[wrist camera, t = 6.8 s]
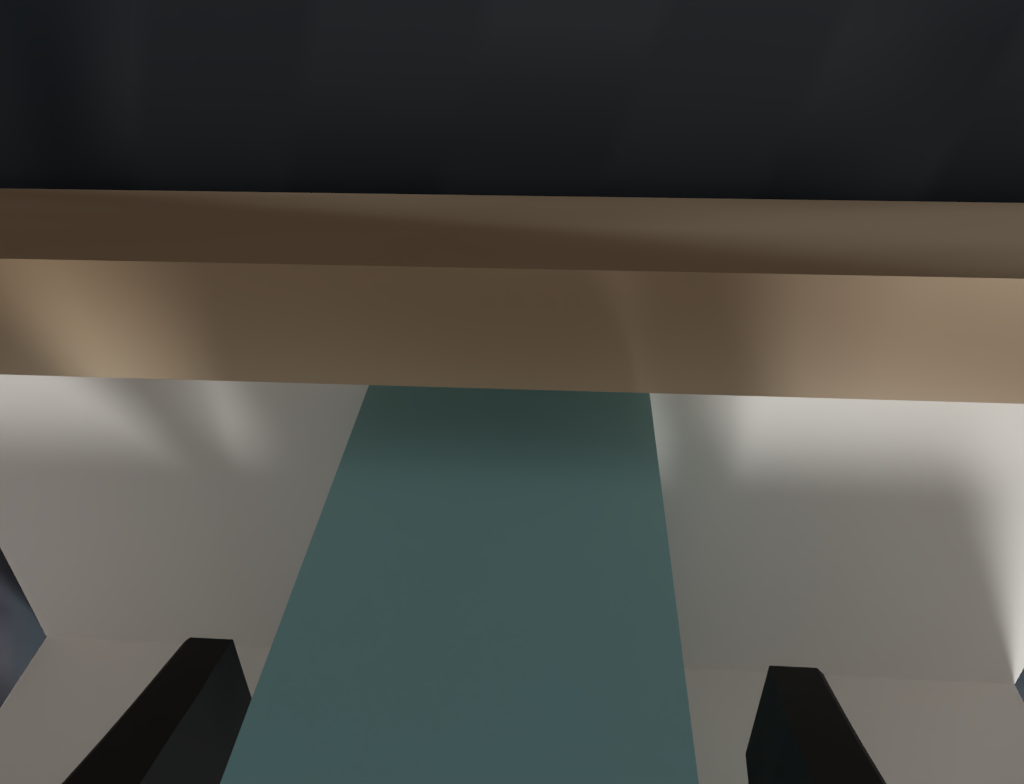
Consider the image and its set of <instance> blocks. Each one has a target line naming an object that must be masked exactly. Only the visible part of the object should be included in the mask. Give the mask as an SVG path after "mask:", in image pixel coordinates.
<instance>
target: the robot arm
mask: <svg viewBox="0 0 1024 784" xmlns="http://www.w3.org/2000/svg"><path fill="white" fill-rule="evenodd" d="M251 699H252V697H251V694H250V691H249V688H248V685H247V682H246V679H245V676H244V672H243V669H242V666H241V663H240V660H239V657H238V654H237V651H236V647H235V644H234V641H233V639H213V638H193V637H190V638H188V639H187V640H186V641H185V642H184V643H183V644H182V645H181V646H180V647H179V649H178V650H177V651H176V652H175V653H174V655H173V656H172V657H171V658H170V659H169V660H168V662H167V663H166V664H165V665H164V666H163V668H162V669H161V670H160V671H159V672H158V674H157V675H156V676H155V677H154V678H153V680H152V681H151V682H150V683H149V684H148V686H147V687H146V688H145V689H144V690H143V692H142V693H141V694H140V695H139V696H138V697H137V699H136V700H135V701H134V702H133V703H132V705H131V706H130V707H129V708H128V709H127V710H126V711H125V713H124V714H123V715H122V716H121V717H120V718H119V720H118V721H117V722H116V723H115V724H114V725H113V727H112V728H111V729H110V730H109V731H108V732H107V734H106V735H105V736H104V737H103V738H102V739H101V740H100V741H99V743H98V744H97V745H96V746H95V747H94V748H93V749H92V750H91V752H90V753H89V754H88V755H87V756H86V757H85V758H84V759H83V760H82V762H81V763H80V764H79V765H78V766H77V767H76V768H75V769H74V771H73V772H72V773H71V774H70V775H69V776H68V777H67V778H66V779H65V781H64V782H63V783H62V784H220V782H221V780H222V777H223V774H224V772H225V769H226V766H227V764H228V761H229V758H230V756H231V753H232V750H233V748H234V745H235V742H236V739H237V737H238V734H239V731H240V729H241V726H242V723H243V721H244V718H245V715H246V713H247V710H248V707H249V705H250V702H251ZM745 756H746V765H747V774H748V783H749V784H886V782H885V780H884V779H883V777H882V775H881V774H880V772H879V770H878V769H877V767H876V765H875V764H874V762H873V761H872V759H871V757H870V756H869V754H868V752H867V751H866V749H865V747H864V746H863V744H862V742H861V740H860V739H859V737H858V735H857V734H856V732H855V730H854V728H853V727H852V725H851V723H850V721H849V720H848V718H847V716H846V714H845V713H844V711H843V709H842V707H841V705H840V704H839V702H838V700H837V698H836V696H835V695H834V693H833V691H832V689H831V687H830V685H829V684H828V682H827V680H826V678H825V676H824V674H823V673H822V672H821V671H820V670H819V669H818V668H810V667H790V666H769V668H768V672H767V676H766V680H765V683H764V687H763V691H762V694H761V698H760V702H759V706H758V709H757V713H756V717H755V720H754V724H753V728H752V732H751V735H750V739H749V743H748V746H747V750H746V754H745Z"/></svg>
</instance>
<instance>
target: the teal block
mask: <svg viewBox="0 0 1024 784" xmlns="http://www.w3.org/2000/svg"><path fill="white" fill-rule="evenodd" d="M220 784H699V782H698V774H697V766H696V758H695V751H694V743H693V735H692V727H691V719H690V711H689V703H688V695H687V687H686V679H685V671H684V663H683V655H682V647H681V639H680V631H679V623H678V615H677V607H676V599H675V591H674V583H673V575H672V568H671V560H670V552H669V544H668V536H667V528H666V520H665V512H664V504H663V496H662V488H661V480H660V472H659V464H658V456H657V448H656V440H655V432H654V424H653V416H652V408H651V400H650V393H629V392H594V391H559V390H524V389H490V388H455V387H420V386H385V385H369V386H368V389H367V392H366V394H365V397H364V400H363V402H362V405H361V408H360V410H359V413H358V416H357V418H356V421H355V424H354V426H353V429H352V432H351V434H350V437H349V440H348V442H347V445H346V448H345V451H344V453H343V456H342V459H341V461H340V464H339V467H338V469H337V472H336V475H335V477H334V480H333V483H332V485H331V488H330V491H329V493H328V496H327V499H326V501H325V504H324V507H323V509H322V512H321V515H320V517H319V520H318V523H317V525H316V528H315V531H314V533H313V536H312V539H311V541H310V544H309V547H308V550H307V552H306V555H305V558H304V560H303V563H302V566H301V568H300V571H299V574H298V576H297V579H296V582H295V584H294V587H293V590H292V592H291V595H290V598H289V600H288V603H287V606H286V608H285V611H284V614H283V616H282V619H281V622H280V624H279V627H278V630H277V632H276V635H275V638H274V640H273V643H272V646H271V649H270V651H269V654H268V657H267V659H266V662H265V665H264V667H263V670H262V673H261V675H260V678H259V681H258V683H257V686H256V689H255V691H254V694H253V697H252V699H251V702H250V705H249V707H248V710H247V713H246V715H245V718H244V721H243V723H242V726H241V729H240V731H239V734H238V737H237V739H236V742H235V745H234V748H233V750H232V753H231V756H230V758H229V761H228V764H227V766H226V769H225V772H224V774H223V777H222V780H221V782H220Z"/></svg>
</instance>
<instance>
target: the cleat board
mask: <svg viewBox="0 0 1024 784" xmlns="http://www.w3.org/2000/svg"><path fill="white" fill-rule="evenodd" d="M369 385H385V386H420V387H455V388H490V389H524V390H559V391H594V392H629V393H650V400H651V408H652V416H653V424H654V432H655V440H656V448H657V456H658V464H659V472H660V480H661V488H662V496H663V504H664V512H665V520H666V528H667V536H668V544H669V552H670V560H671V568H672V575H673V583H674V591H675V599H676V607H677V615H678V623H679V631H680V639H681V647H682V655H683V663H684V671H685V679H686V687H687V695H688V703H689V711H690V719H691V727H692V735H693V743H694V751H695V758H696V766H697V774H698V782H699V784H749V783H748V774H747V765H746V756H745V754H746V750H747V746H748V743H749V739H750V735H751V732H752V728H753V724H754V720H755V717H756V713H757V709H758V706H759V702H760V698H761V694H762V691H763V687H764V683H765V680H766V676H767V672H768V668H769V666H790V667H810V668H818V669H819V670H820V671H821V672H822V673H823V674H824V676H825V678H826V680H827V682H828V684H829V685H830V687H831V689H832V691H833V693H834V695H835V696H836V698H837V700H838V702H839V704H840V705H841V707H842V709H843V711H844V713H845V714H846V716H847V718H848V720H849V721H850V723H851V725H852V727H853V728H854V730H855V732H856V734H857V735H858V737H859V739H860V740H861V742H862V744H863V746H864V747H865V749H866V751H867V752H868V754H869V756H870V757H871V759H872V761H873V762H874V764H875V765H876V767H877V769H878V770H879V772H880V774H881V775H882V777H883V779H884V780H885V782H886V784H1024V702H1023V700H1022V698H1021V696H1020V694H1019V692H1018V691H1017V689H1016V687H1015V685H1014V684H1015V682H1016V681H1017V679H1018V677H1019V675H1020V673H1021V672H1022V670H1023V668H1024V203H994V202H923V201H853V200H782V199H711V198H641V197H571V196H500V195H429V194H359V193H288V192H218V191H147V190H77V189H6V188H0V548H1V550H2V552H3V554H4V556H5V558H6V559H7V561H8V563H9V565H10V567H11V569H12V571H13V573H14V575H15V577H16V579H17V581H18V582H19V584H20V586H21V588H22V590H23V592H24V594H25V596H26V598H27V600H28V602H29V604H30V606H31V607H32V609H33V611H34V613H35V615H36V617H37V619H38V621H39V623H40V625H41V627H42V629H43V631H44V632H45V634H46V636H47V637H46V639H45V640H44V642H43V644H42V645H41V647H40V648H39V650H38V651H37V653H36V654H35V656H34V657H33V659H32V660H31V662H30V663H29V665H28V666H27V668H26V670H25V671H24V673H23V674H22V676H21V677H20V679H19V680H18V682H17V683H16V685H15V686H14V688H13V689H12V691H11V692H10V694H9V695H8V697H7V699H6V700H5V702H4V703H3V705H2V706H1V708H0V784H62V783H63V782H64V781H65V779H66V778H67V777H68V776H69V775H70V774H71V773H72V772H73V771H74V769H75V768H76V767H77V766H78V765H79V764H80V763H81V762H82V760H83V759H84V758H85V757H86V756H87V755H88V754H89V753H90V752H91V750H92V749H93V748H94V747H95V746H96V745H97V744H98V743H99V741H100V740H101V739H102V738H103V737H104V736H105V735H106V734H107V732H108V731H109V730H110V729H111V728H112V727H113V725H114V724H115V723H116V722H117V721H118V720H119V718H120V717H121V716H122V715H123V714H124V713H125V711H126V710H127V709H128V708H129V707H130V706H131V705H132V703H133V702H134V701H135V700H136V699H137V697H138V696H139V695H140V694H141V693H142V692H143V690H144V689H145V688H146V687H147V686H148V684H149V683H150V682H151V681H152V680H153V678H154V677H155V676H156V675H157V674H158V672H159V671H160V670H161V669H162V668H163V666H164V665H165V664H166V663H167V662H168V660H169V659H170V658H171V657H172V656H173V655H174V653H175V652H176V651H177V650H178V649H179V647H180V646H181V645H182V644H183V643H184V642H185V641H186V640H187V639H188V638H190V637H193V638H213V639H233V641H234V644H235V647H236V651H237V654H238V657H239V660H240V663H241V666H242V669H243V672H244V676H245V679H246V682H247V685H248V688H249V691H250V694H251V697H253V694H254V691H255V689H256V686H257V683H258V681H259V678H260V675H261V673H262V670H263V667H264V665H265V662H266V659H267V657H268V654H269V651H270V649H271V646H272V643H273V640H274V638H275V635H276V632H277V630H278V627H279V624H280V622H281V619H282V616H283V614H284V611H285V608H286V606H287V603H288V600H289V598H290V595H291V592H292V590H293V587H294V584H295V582H296V579H297V576H298V574H299V571H300V568H301V566H302V563H303V560H304V558H305V555H306V552H307V550H308V547H309V544H310V541H311V539H312V536H313V533H314V531H315V528H316V525H317V523H318V520H319V517H320V515H321V512H322V509H323V507H324V504H325V501H326V499H327V496H328V493H329V491H330V488H331V485H332V483H333V480H334V477H335V475H336V472H337V469H338V467H339V464H340V461H341V459H342V456H343V453H344V451H345V448H346V445H347V442H348V440H349V437H350V434H351V432H352V429H353V426H354V424H355V421H356V418H357V416H358V413H359V410H360V408H361V405H362V402H363V400H364V397H365V394H366V392H367V389H368V386H369Z"/></svg>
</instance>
